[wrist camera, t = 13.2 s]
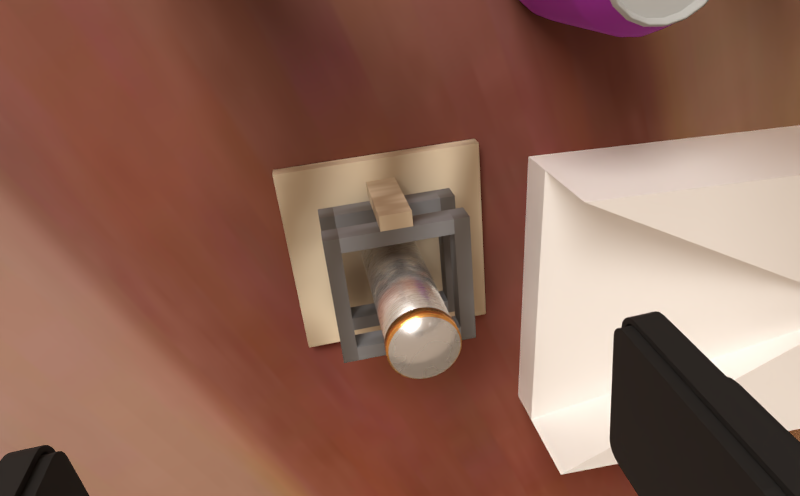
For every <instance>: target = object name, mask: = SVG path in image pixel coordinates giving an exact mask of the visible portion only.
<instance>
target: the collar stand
mask: <svg viewBox="0 0 800 496" xmlns="http://www.w3.org/2000/svg"><path fill="white" fill-rule="evenodd" d="M272 175H273V180H274V184H275V189H276V194H277V199H278V203H279V208H280V213H281V218H282V222H283V227H284V232H285V236H286V241H287V246H288V251H289V255H290V260H291V265H292V269H293V274H294V279H295V284H296V288H297V293H298V298H299V302H300V307H301V312H302V317H303V321H304V326H305V331H306V335H307V340H308V345H309V347H314V346H319V345H325V344H330V343H335V342H341V348H342V354H343V359H344V363H347V362H352V361H357V360H362V359H367V358H372V357H378V356H383V355H386V351H385V347H384V337H383V333H382V330H381V326H380V322H379V319H378V315H377V311H376V308H375V304H374V300H373V297H372V293H371V289H370V286H369V282H368V278H367V275H366V271H365V267H364V264H363V260H362V255H361V250H365V249H371V248H377V247H383V246H389V245H394V244H400V243H406V242H412V241H415V243H416V245H417V247H418V249H419V251H420V253H421V255H422V257H423V260H424V262H425V264H426V266H427V268H428V270H429V272H430V274H431V276H432V279H433V281H434V283H435V285H436V287H437V289H438V291H439V293H440V296H441V298H442V300H443V302H444V304H445V306H446V308H447V310H448V313H449V315H450V316H451V317H452V319H453V320H454V321H455V323H456V325H457V327H458V330H459V332H460V334H461V338H462V340H465V339H470V338H475V337H476V328H475V316H478V315H483V314H486V307H485V283H484V259H483V234H482V210H481V186H480V162H479V143H478V142H477V141H476V140H475V139H470V140H464V141H457V142H451V143H444V144H438V145H431V146H425V147H418V148H412V149H405V150H399V151H392V152H386V153H380V154H373V155H367V156H360V157H354V158H347V159H341V160H334V161H328V162H321V163H315V164H308V165H302V166H296V167H289V168H283V169H276V170H273V174H272Z"/></svg>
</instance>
